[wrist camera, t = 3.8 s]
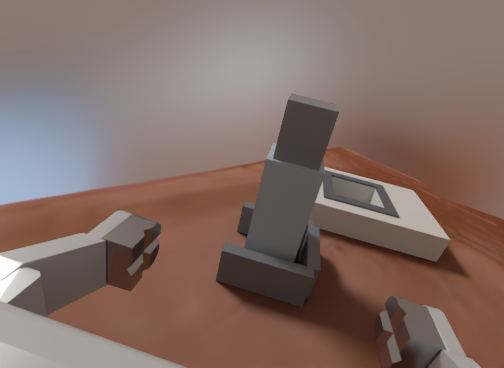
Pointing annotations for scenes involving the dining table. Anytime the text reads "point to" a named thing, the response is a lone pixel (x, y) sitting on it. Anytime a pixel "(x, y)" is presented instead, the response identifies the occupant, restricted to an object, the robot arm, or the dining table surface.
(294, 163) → the plug
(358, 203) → the block
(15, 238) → the dining table surface
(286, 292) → the holster
